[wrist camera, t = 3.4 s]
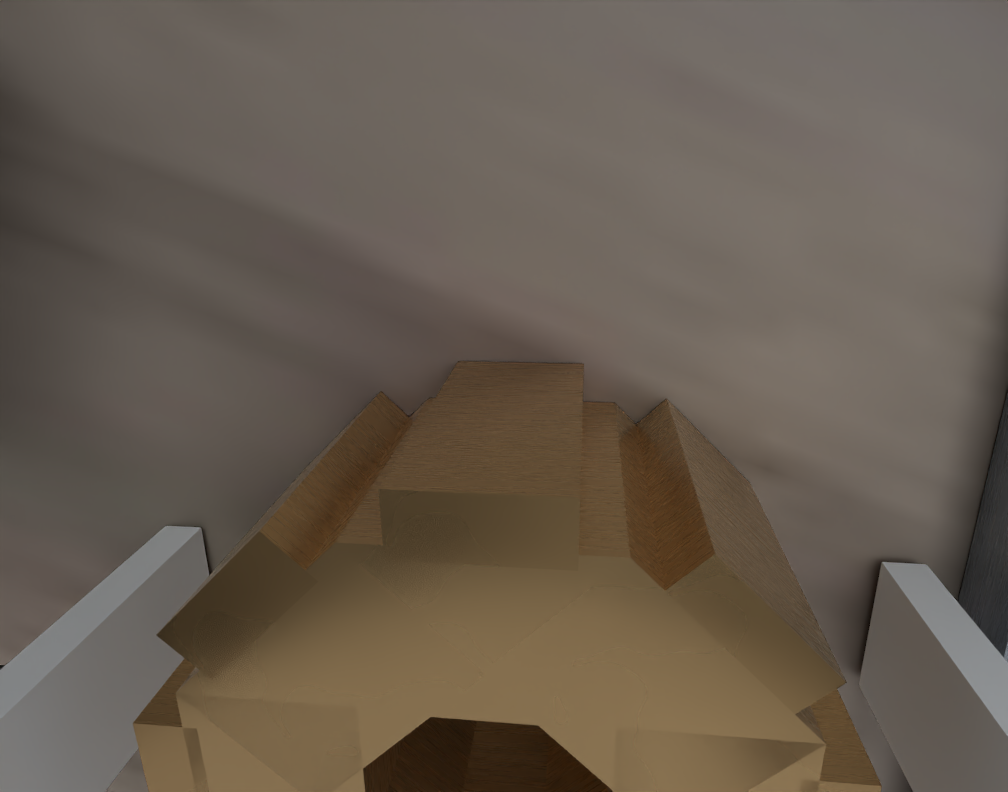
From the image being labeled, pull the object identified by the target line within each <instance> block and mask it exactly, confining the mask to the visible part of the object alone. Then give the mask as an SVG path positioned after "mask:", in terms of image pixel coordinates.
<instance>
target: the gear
mask: <svg viewBox="0 0 1008 792" xmlns="http://www.w3.org/2000/svg"><path fill="white" fill-rule="evenodd" d="M583 372H584V364H573V363H525V362H478V361H458V362H457V364H456V366H455V367H454V369H453V371H452V372H451V374H450V375H449V377H448V379H447V380H446V382H445V383H444V385H443V387H442V388H441V390H440V391H439V393H438V395H437V396H436V398H428V399H427V400H426V401H425V402H424V403H423V404H422V405H421V406H420V407H419V408H418V409H417V410H416V411H415V412H414V413H413V414H412V415H411V416H410V417H408V416H407V415H406V414H405V413H404V412H403V411H402V410H401V409H400V408H399V407H398V406H396V405H395V404H394V403H393V402H392V401H391V400H390V399H389V398H388V397H387V396H386V395H385V394H384V393H383V392H380V393H379V394H378V395H377V396H376V397H375V398H374V399H373V400H372V401H371V402H370V403H369V404H368V405H367V406H366V407H365V408H364V409H363V410H362V411H361V412H360V413H359V414H358V415H357V416H356V417H355V418H354V419H353V420H352V421H351V422H350V423H349V424H348V425H347V426H346V427H345V428H344V429H343V430H342V431H341V432H340V433H339V434H338V435H337V437H336V438H335V439H334V440H333V441H332V442H331V443H330V444H329V445H328V446H327V447H326V448H325V449H324V450H323V451H322V452H321V453H320V454H319V455H318V456H317V457H316V458H315V459H314V460H313V461H312V462H311V463H310V464H309V465H308V466H307V467H306V468H305V469H304V471H303V472H302V473H301V474H300V475H299V476H298V477H297V478H296V479H295V481H294V482H293V483H292V484H291V485H290V486H289V487H288V488H287V489H286V491H285V492H284V493H283V494H282V495H281V496H280V497H279V498H278V500H277V501H276V502H275V503H274V504H273V505H272V506H271V507H270V508H269V510H268V511H267V512H266V513H265V514H264V515H263V516H262V517H261V519H260V520H259V521H258V522H257V523H256V524H255V525H254V526H253V527H252V529H251V530H250V531H249V532H248V533H247V534H246V535H245V536H244V537H243V539H242V540H241V541H240V542H239V543H238V544H237V545H236V546H235V548H234V549H233V550H232V551H231V552H230V553H229V554H228V555H227V556H226V558H225V559H224V560H223V561H222V562H221V563H220V564H219V565H218V566H217V568H216V569H215V570H214V571H213V572H212V573H211V574H210V575H209V577H208V578H207V579H206V580H205V581H204V582H203V583H202V584H201V585H200V587H199V588H198V589H197V590H196V591H195V592H194V593H193V594H192V596H191V597H190V598H189V599H188V600H187V601H186V602H185V603H184V604H183V606H182V607H181V608H180V609H179V610H178V611H177V612H176V613H175V614H174V616H173V617H172V618H171V619H170V620H169V621H168V622H167V623H166V625H165V626H164V627H163V628H162V629H161V630H160V631H159V632H158V633H157V635H156V636H158V637H159V638H160V639H161V640H163V641H164V642H165V643H166V644H168V645H169V646H170V647H171V648H173V649H174V650H175V651H176V652H177V653H179V654H180V655H181V656H182V657H184V660H183V661H182V662H181V663H180V665H179V666H178V667H177V668H176V670H175V671H174V672H173V673H172V675H171V676H170V677H169V678H168V680H167V681H166V682H165V683H164V685H163V686H162V687H161V688H160V690H159V691H158V692H157V693H156V695H155V696H154V697H153V698H152V700H151V701H150V702H149V703H148V705H147V706H146V707H145V708H144V710H143V711H142V712H141V713H140V715H139V716H138V717H137V718H136V720H135V721H134V722H133V727H134V731H135V735H136V740H137V744H138V748H139V752H140V757H141V761H142V765H143V769H144V774H145V778H146V782H147V786H148V791H149V792H881V788H882V786H881V783H880V781H879V779H878V777H877V775H876V773H875V770H874V768H873V766H872V764H871V762H870V760H869V757H868V755H867V753H866V751H865V749H864V747H863V744H862V742H861V740H860V738H859V736H858V733H857V731H856V729H855V727H854V725H853V723H852V720H851V718H850V716H849V714H848V712H847V710H846V707H845V705H844V703H843V701H842V699H841V697H840V694H839V692H838V690H837V688H839V687H840V686H842V685H844V684H845V683H847V682H846V680H845V678H844V676H843V674H842V672H841V670H840V668H839V666H838V664H837V662H836V660H835V658H834V656H833V654H832V652H831V649H830V647H829V645H828V643H827V641H826V639H825V637H824V635H823V633H822V631H821V629H820V627H819V625H818V623H817V621H816V619H815V616H814V614H813V612H812V610H811V608H810V606H809V604H808V602H807V600H806V598H805V596H804V594H803V592H802V590H801V588H800V585H799V583H798V581H797V579H796V577H795V575H794V573H793V571H792V569H791V567H790V565H789V563H788V561H787V559H786V557H785V555H784V552H783V550H782V548H781V546H780V544H779V542H778V540H777V538H776V536H775V534H774V532H773V530H772V528H771V526H770V524H769V522H768V519H767V517H766V515H765V513H764V511H763V509H762V507H761V505H760V503H759V501H758V499H757V497H756V495H755V493H754V491H753V489H752V486H751V484H750V483H749V482H748V481H747V480H746V479H745V478H744V477H743V476H742V475H741V474H740V473H739V472H738V471H737V470H736V469H735V468H734V467H733V465H732V464H731V463H730V462H729V461H728V460H727V459H726V458H725V457H724V456H723V455H722V454H721V453H720V452H719V451H718V450H717V449H716V448H715V447H714V446H713V445H712V444H711V443H710V442H709V441H708V440H707V439H706V438H705V437H704V436H703V435H702V434H701V433H700V432H699V431H698V430H697V429H696V428H695V427H694V426H693V425H692V424H691V423H690V422H689V421H688V420H687V419H686V418H685V417H684V416H683V415H682V414H681V413H680V412H679V411H678V410H677V409H676V408H675V407H674V406H673V405H672V404H671V403H670V402H669V400H668V399H666V400H664V401H663V402H662V403H661V404H660V405H658V406H657V407H656V408H655V409H654V410H653V411H651V412H650V413H649V414H648V415H647V416H645V417H644V418H643V419H642V420H641V421H640V422H638V423H637V424H636V423H635V422H634V421H633V420H632V419H631V418H630V417H629V416H628V415H626V414H625V413H624V412H623V411H622V410H621V409H620V408H619V407H618V406H617V405H616V404H615V403H608V402H583Z"/></svg>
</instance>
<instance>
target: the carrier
mask: <svg viewBox="0 0 1008 792" xmlns="http://www.w3.org/2000/svg"><path fill="white" fill-rule="evenodd" d="M958 603H959V604H960V606H961V607H962V608H963V609H964V610H965V612H966V613H967V614H968V615H969V616H970V618H971V619H972V620H973V621H974V622H975V624H976V625H977V626H978V627H979V629H980V630H981V631H982V632H983V633H984V635H985V636H986V637H987V638H988V639H989V641H990V642H991V643H992V644H993V645H994V647H995V648H996V649H997V650H998V651H999V653H1000V654H1001V655H1002V656H1003V658H1004V659H1005V660H1006V661H1007V662H1008V392H1007V397H1006V401H1005V405H1004V409H1003V414H1002V418H1001V422H1000V426H999V430H998V435H997V439H996V443H995V447H994V452H993V456H992V460H991V464H990V468H989V473H988V477H987V481H986V485H985V490H984V494H983V498H982V502H981V506H980V511H979V515H978V519H977V523H976V528H975V532H974V536H973V540H972V544H971V549H970V553H969V557H968V561H967V566H966V570H965V574H964V578H963V582H962V587H961V591H960V595H959V599H958Z"/></svg>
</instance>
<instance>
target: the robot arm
mask: <svg viewBox="0 0 1008 792" xmlns="http://www.w3.org/2000/svg"><path fill="white" fill-rule="evenodd" d="M208 577H209V571H208V565H207V559H206V553H205V547H204V541H203V535H202V529H201V528H200V527H180V526H165V527H164V528H163V529H162V530H160V531H159V532H158V533H157V534H156V535H155V536H154V537H152V538H151V539H150V540H149V541H148V542H147V543H145V544H144V545H143V546H142V547H141V548H140V549H139V550H137V551H136V552H135V553H134V554H133V555H132V556H131V557H129V558H128V559H127V560H126V561H125V562H124V563H122V564H121V565H120V566H119V567H118V568H117V569H116V570H114V571H113V572H112V573H111V574H110V575H109V576H108V577H106V578H105V579H104V580H103V581H102V582H101V583H99V584H98V585H97V586H96V587H95V588H94V589H93V590H91V591H90V592H89V593H88V594H87V595H86V596H85V597H83V598H82V599H81V600H80V601H79V602H78V603H77V604H75V605H74V606H73V607H72V608H71V609H70V610H68V611H67V612H66V613H65V614H64V615H63V616H62V617H60V618H59V619H58V620H57V621H56V622H55V623H54V624H52V625H51V626H50V627H49V628H48V629H47V630H45V631H44V632H43V633H42V634H41V635H40V636H39V637H37V638H36V639H35V640H34V641H33V642H32V643H31V644H29V645H28V646H27V647H26V648H25V649H24V650H22V651H21V652H20V653H19V654H18V655H17V656H16V657H14V658H13V659H12V660H11V661H10V662H9V663H8V664H6V665H0V792H105V791H106V790H107V788H108V787H109V786H110V785H111V783H112V782H113V781H114V779H115V778H116V777H117V775H118V774H119V773H120V771H121V770H122V769H123V768H124V766H125V765H126V764H127V762H128V761H129V760H130V758H131V757H132V756H133V754H134V753H135V752H136V750H137V749H138V744H137V740H136V735H135V731H134V727H133V722H134V721H135V720H136V718H137V717H138V716H139V715H140V713H141V712H142V711H143V710H144V708H145V707H146V706H147V705H148V703H149V702H150V701H151V700H152V698H153V697H154V696H155V695H156V693H157V692H158V691H159V690H160V688H161V687H162V686H163V685H164V683H165V682H166V681H167V680H168V678H169V677H170V676H171V675H172V673H173V672H174V671H175V670H176V668H177V667H178V666H179V665H180V663H181V662H182V661H183V660H184V657H182V656H181V655H180V654H179V653H177V652H176V651H175V650H174V649H173V648H171V647H170V646H169V645H168V644H166V643H165V642H164V641H163V640H161V639H160V638H159V637H158V636H156V635H157V633H158V632H159V631H160V630H161V629H162V628H163V627H164V626H165V625H166V623H167V622H168V621H169V620H170V619H171V618H172V617H173V616H174V614H175V613H176V612H177V611H178V610H179V609H180V608H181V607H182V606H183V604H184V603H185V602H186V601H187V600H188V599H189V598H190V597H191V596H192V594H193V593H194V592H195V591H196V590H197V589H198V588H199V587H200V585H201V584H202V583H203V582H204V581H205V580H206V579H207V578H208ZM859 687H860V688H861V690H862V692H863V694H864V696H865V698H866V700H867V702H868V704H869V706H870V708H871V710H872V712H873V714H874V716H875V718H876V720H877V722H878V724H879V726H880V728H881V730H882V732H883V734H884V736H885V738H886V739H887V741H888V743H889V745H890V747H891V749H892V751H893V753H894V755H895V757H896V759H897V761H898V763H899V765H900V767H901V769H902V771H903V773H904V775H905V777H906V779H907V781H908V783H909V785H910V787H911V789H912V791H913V792H1008V662H1007V661H1006V660H1005V659H1004V658H1003V656H1002V655H1001V654H1000V653H999V651H998V650H997V649H996V648H995V647H994V645H993V644H992V643H991V642H990V641H989V639H988V638H987V637H986V636H985V635H984V633H983V632H982V631H981V630H980V629H979V627H978V626H977V625H976V624H975V622H974V621H973V620H972V619H971V618H970V616H969V615H968V614H967V613H966V612H965V610H964V609H963V608H962V607H961V606H960V604H959V603H958V602H957V601H956V599H955V598H954V597H953V596H952V595H951V593H950V592H949V591H948V590H947V589H946V587H945V586H944V585H943V584H942V583H941V581H940V580H939V579H938V578H937V577H936V575H935V574H934V573H933V572H932V570H931V569H930V568H929V567H928V566H927V564H912V563H893V562H882V563H881V569H880V574H879V579H878V585H877V590H876V595H875V601H874V606H873V611H872V617H871V622H870V628H869V633H868V638H867V644H866V649H865V654H864V660H863V665H862V670H861V676H860V681H859Z"/></svg>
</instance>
